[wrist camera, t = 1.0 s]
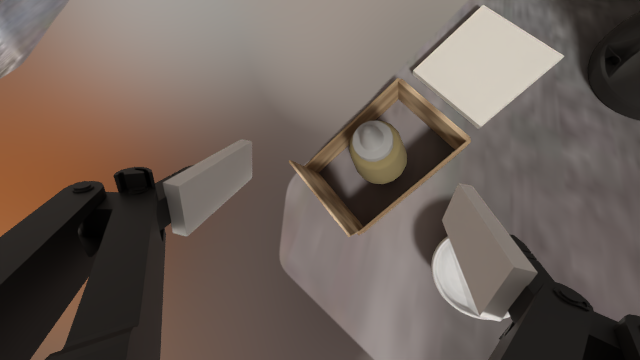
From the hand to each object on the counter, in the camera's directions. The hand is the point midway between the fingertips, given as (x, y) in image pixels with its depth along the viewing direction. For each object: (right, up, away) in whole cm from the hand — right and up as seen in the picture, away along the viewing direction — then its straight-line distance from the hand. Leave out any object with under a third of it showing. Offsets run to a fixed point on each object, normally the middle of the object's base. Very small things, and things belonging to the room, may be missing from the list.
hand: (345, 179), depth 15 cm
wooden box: (+9, +3, +26) cm, 27 cm away
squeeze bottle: (+9, +3, +26) cm, 28 cm away
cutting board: (+24, +18, +23) cm, 37 cm away
